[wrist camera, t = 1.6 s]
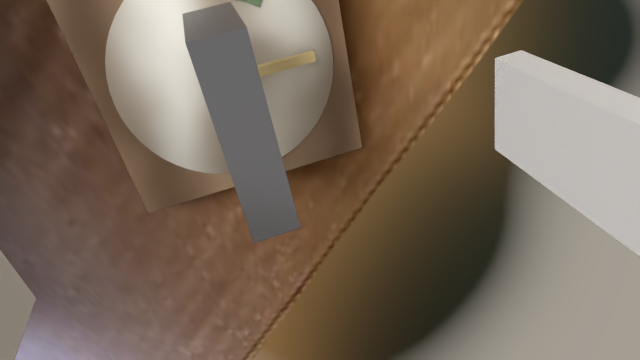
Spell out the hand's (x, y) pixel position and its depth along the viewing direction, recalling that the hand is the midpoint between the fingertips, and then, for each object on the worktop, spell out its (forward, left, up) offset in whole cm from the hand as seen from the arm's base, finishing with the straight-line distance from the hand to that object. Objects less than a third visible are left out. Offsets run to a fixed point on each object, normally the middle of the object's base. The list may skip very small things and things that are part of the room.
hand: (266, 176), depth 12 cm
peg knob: (+2, -3, -19) cm, 19 cm away
